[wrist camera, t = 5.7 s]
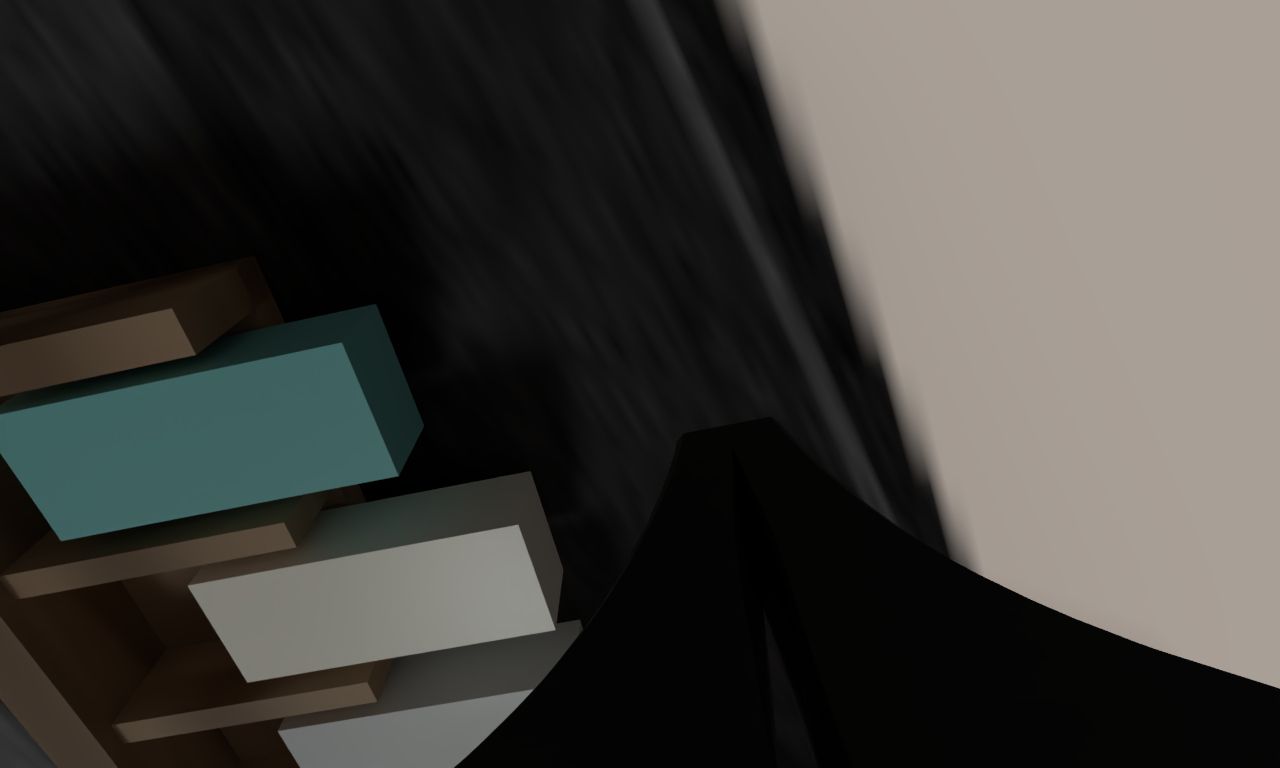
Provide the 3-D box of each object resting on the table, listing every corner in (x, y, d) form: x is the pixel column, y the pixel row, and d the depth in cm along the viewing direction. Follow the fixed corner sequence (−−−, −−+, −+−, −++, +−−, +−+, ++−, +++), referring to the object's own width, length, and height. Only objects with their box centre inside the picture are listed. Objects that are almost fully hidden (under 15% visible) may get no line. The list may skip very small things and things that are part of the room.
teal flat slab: (375, 303, 17) (341, 342, 15) (424, 426, 18) (398, 476, 16) (50, 373, 18) (-23, 419, 16) (120, 486, 19) (61, 540, 17)
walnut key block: (254, 255, 18) (156, 318, 14) (467, 723, 25) (439, 845, 21) (-72, 328, 18) (-244, 405, 15) (224, 762, 25) (156, 887, 22)
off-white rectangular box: (530, 470, 19) (518, 524, 17) (563, 569, 20) (555, 630, 18) (232, 527, 20) (187, 585, 18) (283, 619, 21) (247, 682, 19)
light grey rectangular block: (579, 619, 21) (574, 682, 19) (606, 699, 22) (603, 766, 20) (309, 665, 22) (277, 731, 20) (351, 740, 23) (325, 808, 21)
